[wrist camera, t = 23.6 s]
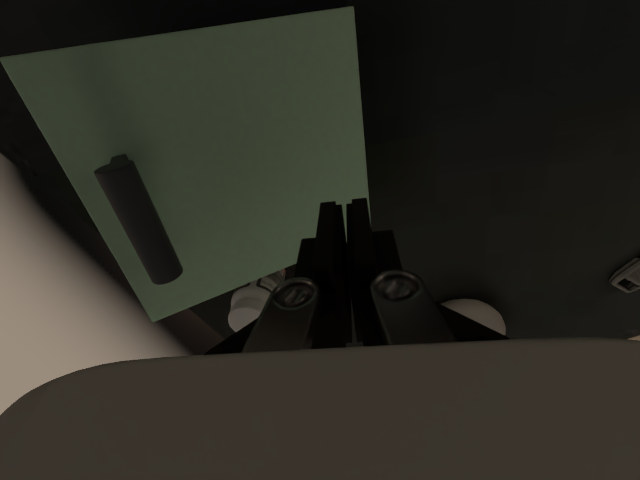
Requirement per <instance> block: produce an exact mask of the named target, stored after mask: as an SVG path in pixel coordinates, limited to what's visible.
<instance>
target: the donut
mask: <svg viewBox="0 0 640 480" xmlns="http://www.w3.org/2000/svg"><path fill="white" fill-rule="evenodd" d="M441 305H443V306H445V307H447V308H450V309H452V310H454V311H456V312H458V313H460V314H462V315H464V316H466V317H468V318H470V319H472V320H474V321H476V322H478V323H480V324H482V325H484V326H486V327H488V328H491V329H493V330H495V331H497V332H499V333H501V334H503V335H505V330H506V327H505V324H504V321H503V319H502V317H501V315H500V314H499V313H498V312H497V311H496V310H495V309H494V308H493V307H492V306H491V305H489V304H486V303H484V302H481V301H479V300H474V299H465V298H464V299H455V300H450V301H447V302H444V303H441Z"/></svg>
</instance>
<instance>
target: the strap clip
mask: <svg viewBox="0 0 640 480" xmlns="http://www.w3.org/2000/svg"><path fill="white" fill-rule="evenodd" d="M624 278H625V279H627V280H629V281H631V283H629V284H628V285H627V286H625V287H624V286H622V285H620V284H618V282H620V281H621V280H622V279H624ZM609 282H610V283H611V284H612V285H614V286H615V287H617V288H619V289H621V290H623V291H625V292H627V293H630V292H633V291H635V290H638V289H640V258H634V259H633V260H632V261H630V262H629V263H627V264H626V265H624V266H623V267H622V268H620V269H619V270H617V271H616V272H615V273H614V274H613V275H612V277H611V278H610V280H609Z"/></svg>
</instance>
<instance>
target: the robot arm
mask: <svg viewBox="0 0 640 480" xmlns="http://www.w3.org/2000/svg"><path fill="white" fill-rule="evenodd" d="M346 223H347V242H346V234H345V226H344V218H343V210H342V204H340V205H336V201H331V202H322V203H320V209H319V217H318V224H317V231H316V237H315V238H305V239H302V240H301V244H300V248H299V253H298V258H297V263H296V268H295V273H294V278H291V279H288V280H285V281H283V282H281V283H279V284H278V285H277V286H276V287H274V289H273V290H272V291H271V293H270V295H269V297H268V299H267V301H266V303H265V305H264V307H263V309H262V311H261V313H260V315H259V317H258V318H257V319H255V320H254V321H252V322H251V323H249V324H248V325H246V326H245V327H243V328H242V329H240V330H239V331H237V332H236V333H234V334H233V335H231V336H230V337H228V338H227V339H225V340H224V341H222V342H221V343H219V344H218V345H216V346H215V347H213V348H212V349H210V350H209V351H208V352H206V353H205V354H204V355H198V356H180V357H163V358H151V359H140V360H129V361H120V362H114V363H108V364H102V365H98V366H94V367H91V368H86V369H82V370H78V371H75V372H73V373H70V374H67V375H64V376H62V377H59V378H56V379H54V380H51V381H49V382H47V383H45V384H43V385H41V386H39V387H37V388H35V389H33V390H31V391H30V392H28V393H26V394H25V395H23V396H22V397H21V398H19V399H18V400H17V401H16V402H15V403H13V404H12V405H11V406H10V407H9V408H7V409H6V410H5V411H4V412H3V413H2V414H1V415H0V480H640V341H637V340H628V339H617V338H595V337H581V338H531V339H509V338H508V337H506V336H505V335H503V334H501V333H499V332H497V331H495V330H493V329H491V328H488V327H486V326H484V325H482V324H480V323H478V322H476V321H474V320H472V319H470V318H468V317H466V316H464V315H462V314H460V313H458V312H456V311H454V310H452V309H450V308H447V307H445V306H443V305H441V304H439V303H437V302H435V301H434V299H433V298H432V296H431V294H430V292H429V291H428V289H427V287H426V285H425V284H424V282H423V281H422V279H421V278H420V277H419V276H417V275H416V274H414V273H412V272H409V271H406V270H402V267H401V263H400V259H399V255H398V251H397V247H396V243H395V239H394V235H393V231H392V230H388V231H377V232H372V231H371V224H370V217H369V210H368V203H367V198H358V199H352V203H349V204H346ZM351 299H352V306H353V314H354V322H355V329H356V337H357V342H363V345H364V347H346V343H352V321H351Z"/></svg>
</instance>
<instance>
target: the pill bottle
mask: <svg viewBox="0 0 640 480" xmlns="http://www.w3.org/2000/svg"><path fill="white" fill-rule="evenodd" d="M284 278H285V268H284V269H281V270H279V271H276V272H274V273H271V274H269V275H267V276H264V277H262V278H259V279H257V280H254V281H252V282H249V283H247V284H245V285H242V286H240V287H237V288H236V289H235V291H234V294H233V296H232V300H231V307H232V308H231V311H230V313H229V316H228V322H229V325H230V326H231V328H232V329H233V330H234V331H235V332H237V331H239V330H240V329H242V328H243V327H245V326H246V325H248V324H249V323H251V322H252V321H254V320H255V319H257V318H258V317H259V315H260V313H261V311H262V309H263V307H264V305H265V303H266V301H267V299H268V297H269V295H270V293H271V291H272V290H273V289H274V287H276V286H277V285H278V284H279V283H281V282H283V281H284Z"/></svg>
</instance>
